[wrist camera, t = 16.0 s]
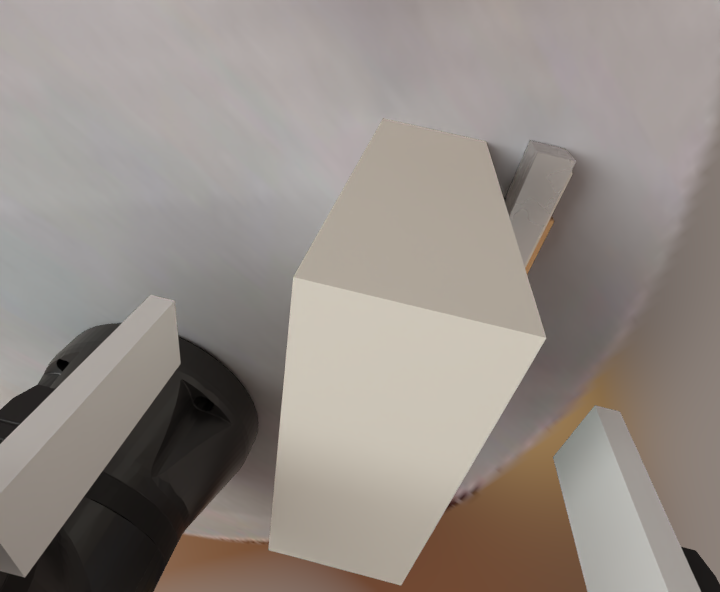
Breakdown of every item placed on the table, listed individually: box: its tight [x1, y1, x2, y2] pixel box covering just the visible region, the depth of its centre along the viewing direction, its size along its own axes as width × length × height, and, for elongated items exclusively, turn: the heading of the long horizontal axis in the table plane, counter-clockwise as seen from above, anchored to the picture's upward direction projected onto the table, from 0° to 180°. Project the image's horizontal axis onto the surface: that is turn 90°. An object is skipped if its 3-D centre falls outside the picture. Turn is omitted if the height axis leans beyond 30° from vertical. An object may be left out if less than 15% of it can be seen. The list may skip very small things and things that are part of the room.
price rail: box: [505, 140, 576, 274], centre depth 22 cm, size 20×2×2 cm, turn 169°
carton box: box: [268, 118, 546, 585], centre depth 16 cm, size 5×11×13 cm, turn 170°
